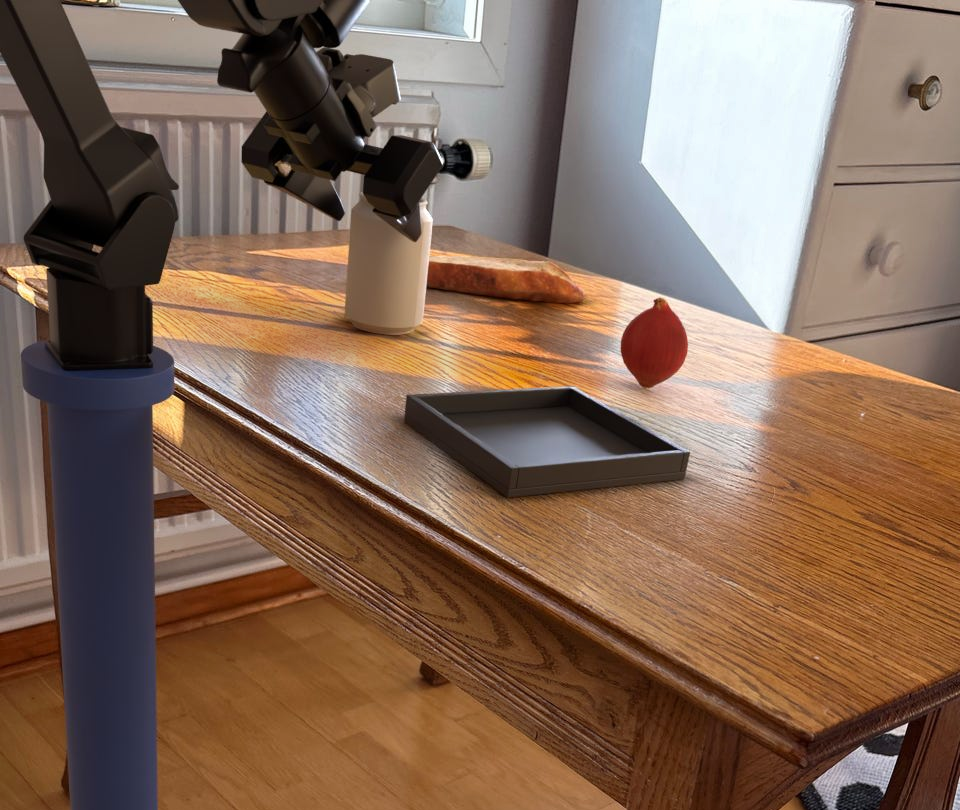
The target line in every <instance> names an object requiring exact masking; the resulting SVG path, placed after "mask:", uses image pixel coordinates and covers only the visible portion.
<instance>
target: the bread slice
mask: <svg viewBox="0 0 960 810" xmlns="http://www.w3.org/2000/svg"><path fill="white" fill-rule="evenodd" d="M426 288H429V289H438V290H443V291H451V292H458V293H463V294H472V295H477V296H487V297H494V298H504V299H510V300H521V301H529V302H546V303H553V304H554V303H556V304H572V303H584V302H585V300H586V299H585V298H586V297H585V295H584V291H583V290H582V289H581V288H580V286H579V285H578V284H577V283H576V281H575V280H574V279H573V278H572V277H571V276H570V275H569V274H568V273H567V272H566V271H564V269H562V268H561V267H559V266H558V265H556V264H555V263H553V262H551V261H539V260H527V259H521V258H515V257H514V258H509V257H497V258H496V257H490V256H460V255H450V256H449V255H429V265H428V275H427V285H426Z"/></svg>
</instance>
